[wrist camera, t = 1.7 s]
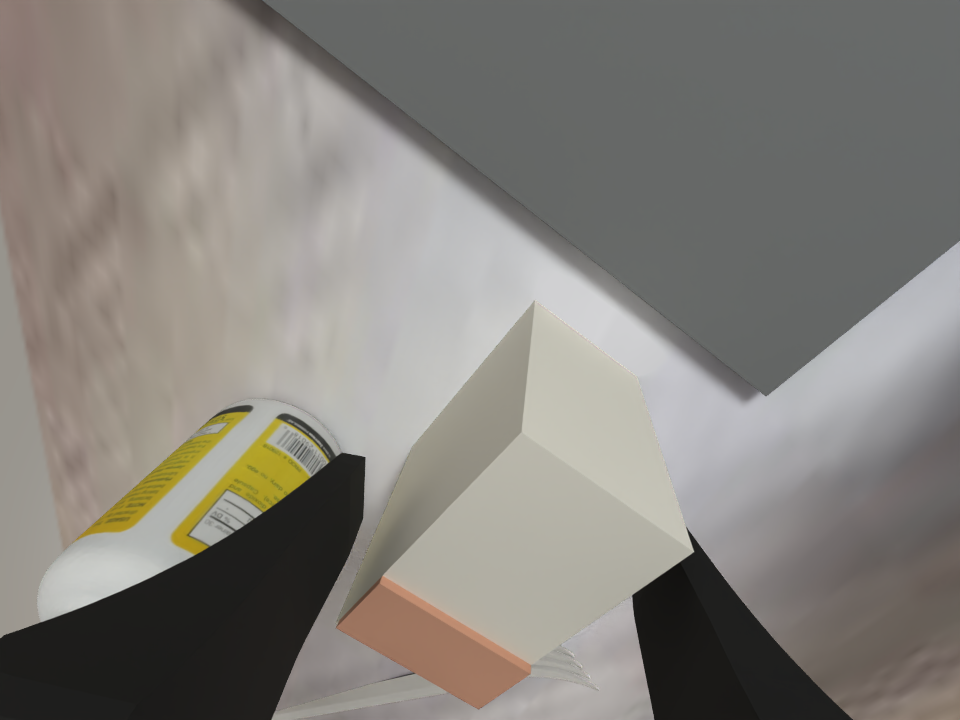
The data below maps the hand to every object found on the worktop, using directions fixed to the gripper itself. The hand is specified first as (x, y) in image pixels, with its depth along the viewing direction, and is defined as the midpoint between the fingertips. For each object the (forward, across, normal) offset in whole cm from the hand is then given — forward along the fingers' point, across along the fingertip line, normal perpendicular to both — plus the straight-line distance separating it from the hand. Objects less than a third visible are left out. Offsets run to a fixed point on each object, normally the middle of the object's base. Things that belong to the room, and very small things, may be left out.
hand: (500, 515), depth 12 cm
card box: (+5, 0, 0) cm, 5 cm away
